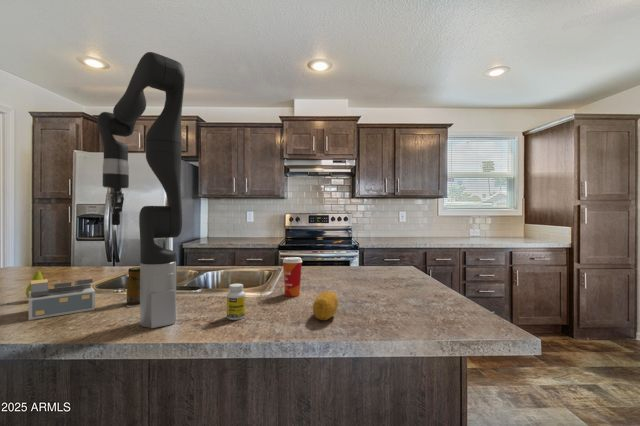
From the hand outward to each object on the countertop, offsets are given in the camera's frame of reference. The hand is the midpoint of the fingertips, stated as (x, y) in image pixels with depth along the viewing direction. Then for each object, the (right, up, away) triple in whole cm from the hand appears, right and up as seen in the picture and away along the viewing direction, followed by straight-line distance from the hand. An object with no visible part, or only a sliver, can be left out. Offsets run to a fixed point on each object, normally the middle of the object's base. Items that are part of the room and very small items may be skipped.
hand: (115, 224), depth 111 cm
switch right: (-9, -20, -2) cm, 22 cm away
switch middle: (-13, -19, -6) cm, 24 cm away
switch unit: (-13, -27, -6) cm, 31 cm away
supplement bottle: (+44, -28, -12) cm, 53 cm away
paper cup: (+58, -28, +15) cm, 66 cm away
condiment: (+6, -27, +3) cm, 28 cm away
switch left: (-17, -19, -10) cm, 28 cm away
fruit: (-31, -27, +5) cm, 41 cm away
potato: (+71, -28, -11) cm, 77 cm away
